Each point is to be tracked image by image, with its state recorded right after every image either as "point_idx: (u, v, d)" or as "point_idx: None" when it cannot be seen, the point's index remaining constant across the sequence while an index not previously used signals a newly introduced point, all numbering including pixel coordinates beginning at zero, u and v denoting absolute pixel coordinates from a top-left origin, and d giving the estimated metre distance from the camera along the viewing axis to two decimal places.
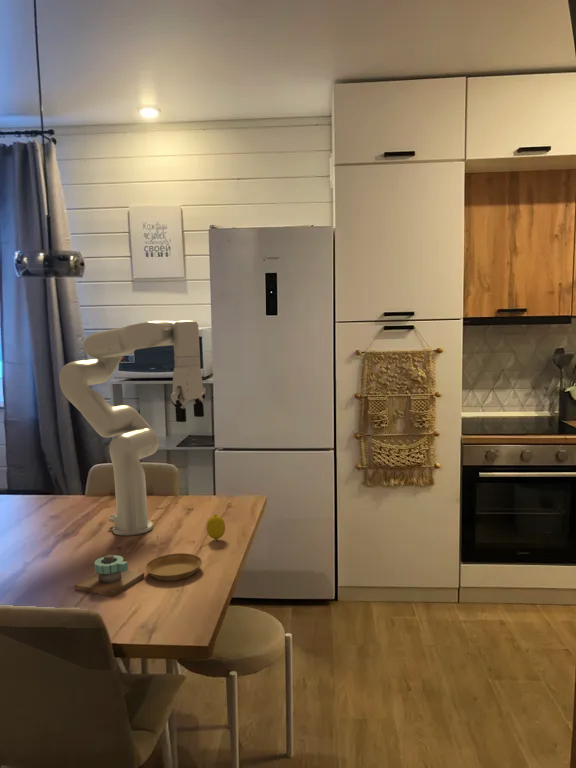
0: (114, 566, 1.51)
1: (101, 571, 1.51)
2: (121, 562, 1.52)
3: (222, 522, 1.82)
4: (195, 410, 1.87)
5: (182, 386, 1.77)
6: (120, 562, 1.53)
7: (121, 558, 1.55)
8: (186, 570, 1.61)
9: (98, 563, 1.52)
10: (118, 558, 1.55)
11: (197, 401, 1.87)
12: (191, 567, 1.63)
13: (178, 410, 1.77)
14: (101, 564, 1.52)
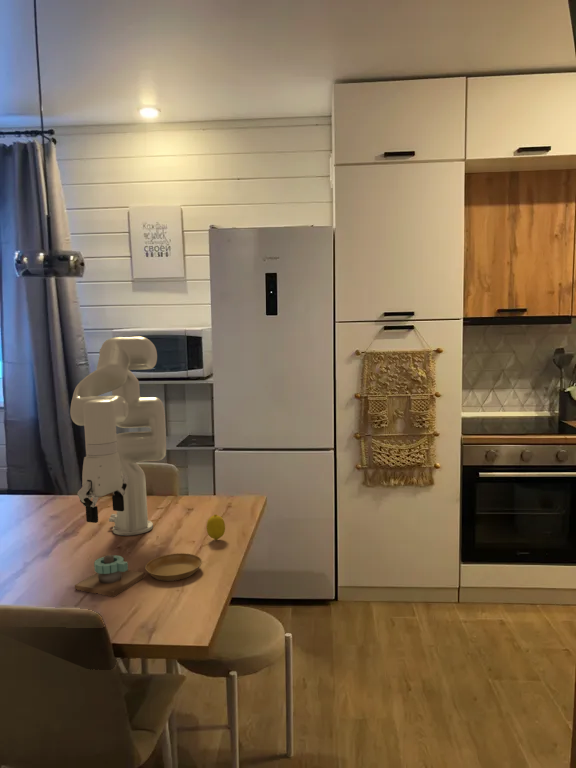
0: (114, 566, 1.51)
1: (101, 571, 1.51)
2: (121, 562, 1.52)
3: (222, 522, 1.82)
4: (114, 503, 1.57)
5: (93, 480, 1.47)
6: (120, 562, 1.53)
7: (121, 558, 1.55)
8: (186, 570, 1.61)
9: (98, 563, 1.52)
10: (118, 558, 1.55)
11: (116, 492, 1.57)
12: (191, 567, 1.63)
13: (88, 509, 1.47)
14: (101, 564, 1.52)
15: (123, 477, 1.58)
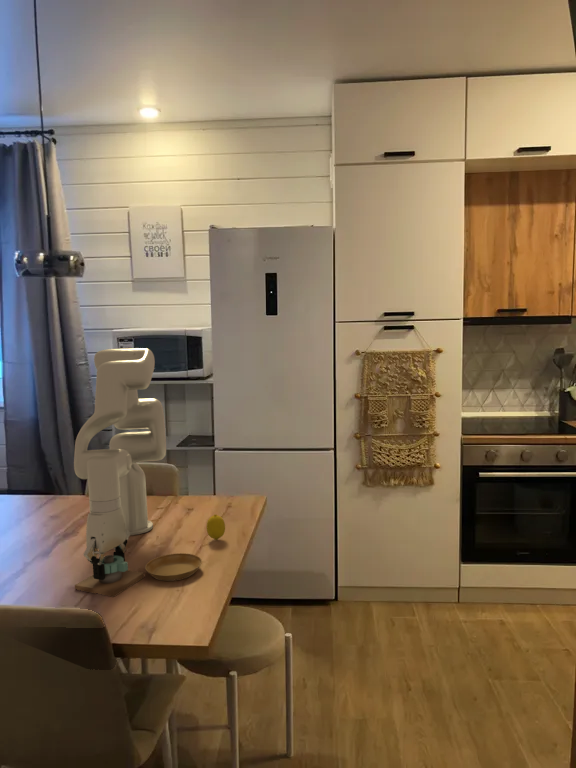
0: (114, 566, 1.51)
1: None
2: (121, 562, 1.52)
3: (222, 522, 1.82)
4: None
5: (97, 537, 1.48)
6: (120, 562, 1.53)
7: (121, 558, 1.55)
8: (186, 570, 1.61)
9: None
10: (119, 558, 1.55)
11: (117, 549, 1.58)
12: (191, 567, 1.63)
13: (95, 567, 1.50)
14: None
15: (125, 533, 1.59)
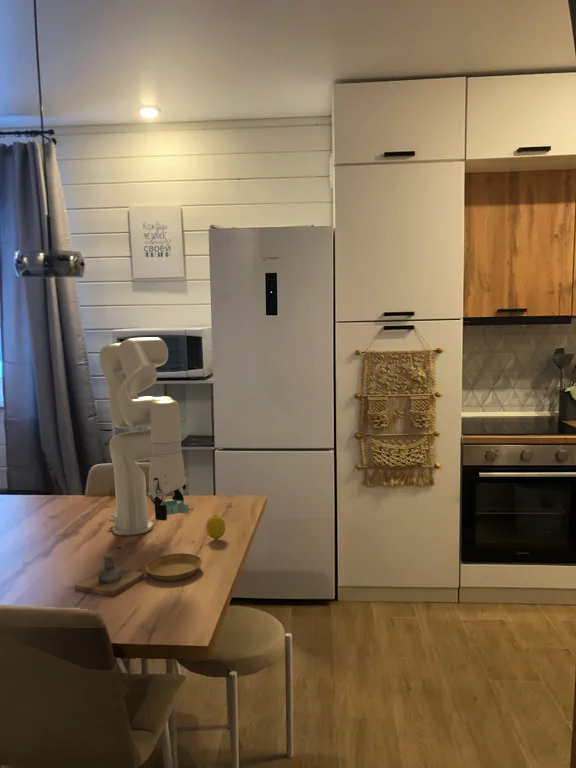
0: (175, 507, 1.55)
1: None
2: (182, 504, 1.56)
3: (222, 522, 1.82)
4: None
5: (159, 478, 1.52)
6: (181, 504, 1.56)
7: (181, 501, 1.59)
8: (186, 570, 1.61)
9: None
10: (179, 501, 1.59)
11: (176, 493, 1.61)
12: (191, 567, 1.63)
13: (157, 507, 1.53)
14: None
15: None
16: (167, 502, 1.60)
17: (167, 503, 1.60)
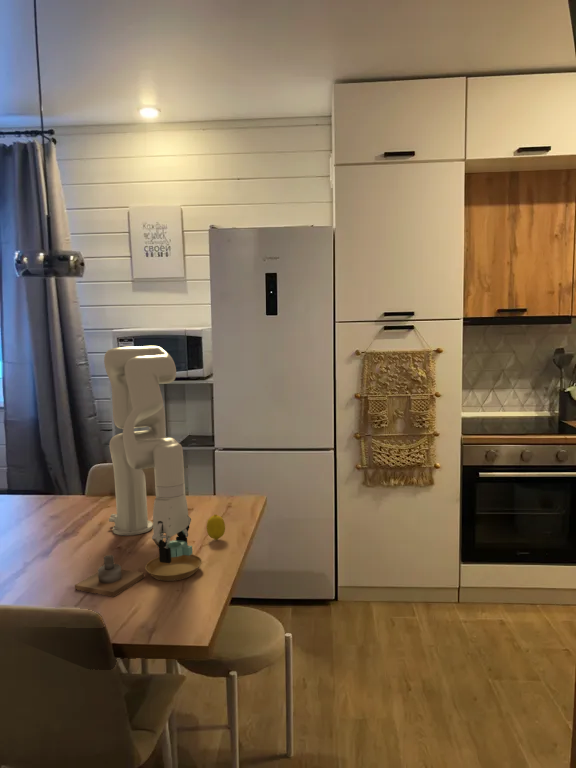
0: (180, 550, 1.56)
1: None
2: (186, 546, 1.57)
3: (222, 522, 1.82)
4: None
5: (164, 521, 1.53)
6: (185, 546, 1.57)
7: (185, 542, 1.60)
8: (186, 570, 1.61)
9: None
10: (182, 543, 1.60)
11: (180, 534, 1.62)
12: (191, 567, 1.63)
13: (162, 550, 1.55)
14: None
15: (187, 519, 1.64)
16: (171, 543, 1.61)
17: (171, 544, 1.61)
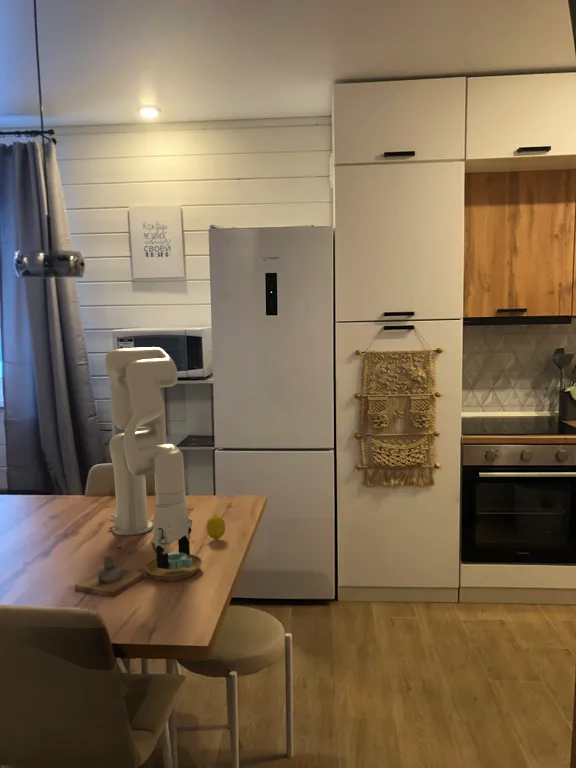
0: (180, 562, 1.57)
1: None
2: (186, 558, 1.58)
3: (222, 522, 1.82)
4: (180, 547, 1.64)
5: (164, 528, 1.54)
6: (185, 558, 1.58)
7: (185, 555, 1.61)
8: (186, 570, 1.61)
9: None
10: (183, 555, 1.60)
11: (182, 537, 1.64)
12: (191, 567, 1.63)
13: (159, 556, 1.54)
14: None
15: (188, 522, 1.65)
16: (171, 555, 1.61)
17: (171, 556, 1.61)
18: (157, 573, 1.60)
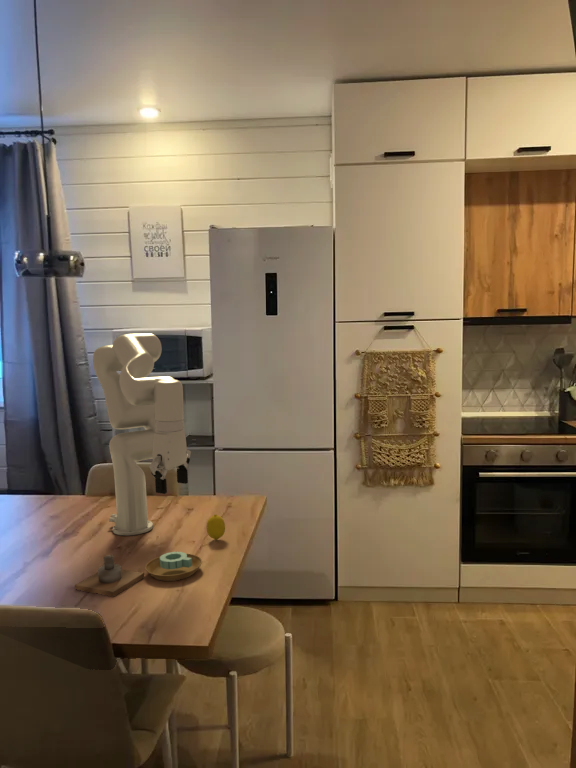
0: (179, 562, 1.57)
1: (167, 567, 1.57)
2: (186, 558, 1.58)
3: (222, 522, 1.82)
4: (178, 476, 1.69)
5: (163, 455, 1.59)
6: (185, 558, 1.58)
7: (185, 554, 1.61)
8: (186, 570, 1.61)
9: (163, 559, 1.58)
10: (182, 554, 1.61)
11: (181, 466, 1.69)
12: (191, 567, 1.63)
13: (158, 481, 1.59)
14: (167, 560, 1.57)
15: (187, 452, 1.70)
16: (171, 555, 1.62)
17: (171, 556, 1.62)
18: (157, 573, 1.60)
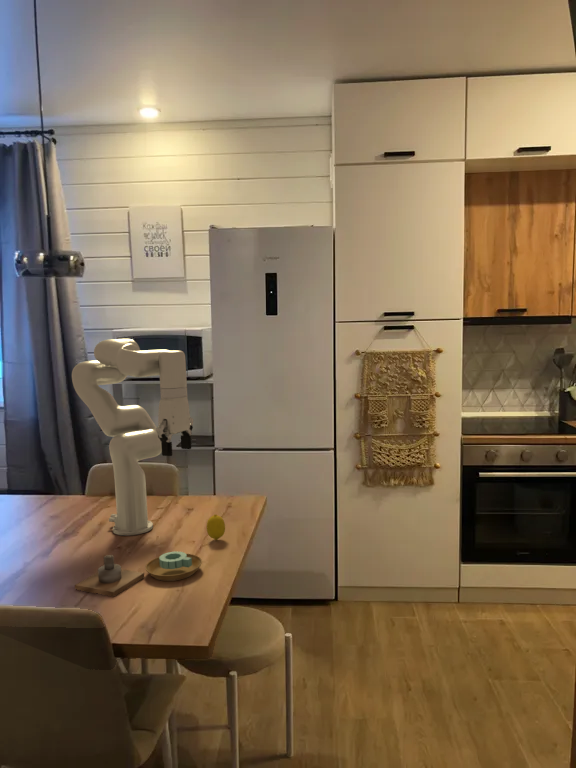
0: (179, 562, 1.57)
1: (167, 566, 1.57)
2: (185, 558, 1.58)
3: (222, 522, 1.82)
4: (182, 442, 1.80)
5: (168, 419, 1.70)
6: (184, 558, 1.58)
7: (184, 554, 1.61)
8: (186, 570, 1.61)
9: (163, 559, 1.58)
10: (182, 554, 1.61)
11: (184, 433, 1.80)
12: (191, 567, 1.63)
13: (164, 444, 1.71)
14: (166, 560, 1.58)
15: (190, 420, 1.81)
16: (170, 555, 1.62)
17: (170, 556, 1.62)
18: (157, 573, 1.60)
